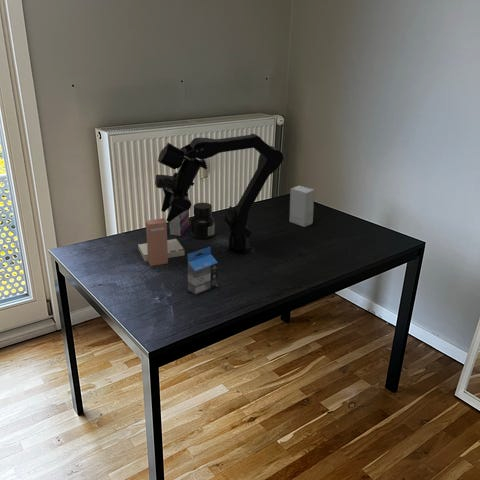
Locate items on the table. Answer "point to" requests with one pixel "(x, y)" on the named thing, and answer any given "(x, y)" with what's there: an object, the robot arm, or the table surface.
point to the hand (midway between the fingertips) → (165, 216)
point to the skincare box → (301, 205)
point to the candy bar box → (179, 223)
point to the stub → (157, 241)
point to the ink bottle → (202, 221)
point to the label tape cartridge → (202, 271)
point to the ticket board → (173, 249)
